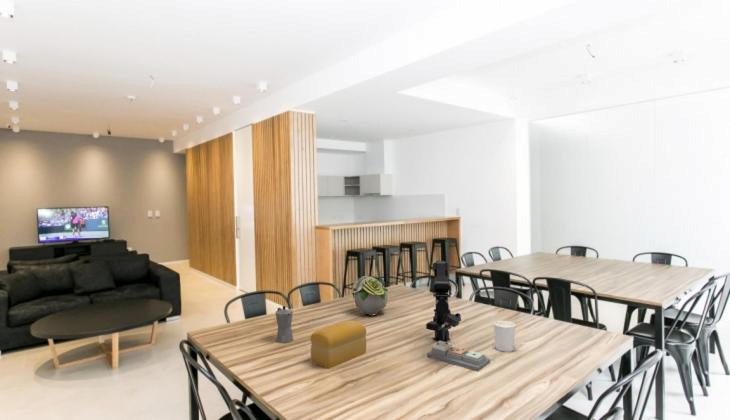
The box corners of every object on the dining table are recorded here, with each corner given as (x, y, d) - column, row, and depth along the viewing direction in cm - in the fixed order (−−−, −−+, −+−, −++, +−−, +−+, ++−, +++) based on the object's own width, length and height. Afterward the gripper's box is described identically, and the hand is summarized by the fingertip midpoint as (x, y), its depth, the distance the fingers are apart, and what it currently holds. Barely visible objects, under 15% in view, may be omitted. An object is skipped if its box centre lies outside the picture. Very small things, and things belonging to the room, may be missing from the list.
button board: (427, 356, 182) (427, 349, 182) (440, 349, 191) (440, 341, 191) (477, 371, 166) (477, 363, 166) (490, 362, 175) (489, 354, 175)
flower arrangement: (345, 311, 259) (345, 274, 259) (379, 306, 270) (379, 271, 269) (361, 321, 237) (360, 281, 236) (397, 316, 247) (397, 277, 247)
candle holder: (501, 353, 185) (501, 328, 185) (489, 346, 194) (489, 321, 194) (519, 351, 187) (519, 325, 187) (507, 343, 197) (506, 320, 197)
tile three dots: (448, 356, 178) (448, 350, 178) (455, 352, 183) (455, 346, 183) (460, 359, 174) (460, 353, 174) (467, 355, 179) (467, 349, 179)
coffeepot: (298, 341, 204) (297, 307, 204) (280, 345, 199) (280, 310, 199) (286, 333, 217) (286, 301, 217) (270, 337, 212) (269, 304, 211)
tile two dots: (433, 349, 184) (433, 343, 184) (440, 345, 188) (439, 340, 188) (444, 352, 180) (444, 346, 180) (451, 348, 184) (451, 343, 184)
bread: (348, 346, 197) (347, 316, 197) (367, 353, 188) (366, 321, 188) (310, 361, 179) (309, 328, 179) (329, 369, 170) (328, 335, 170)
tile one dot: (464, 360, 173) (464, 354, 173) (471, 356, 178) (471, 350, 178) (477, 364, 169) (477, 357, 169) (483, 359, 174) (483, 353, 174)
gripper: (447, 314, 171) (447, 350, 172) (467, 305, 185) (467, 338, 186) (425, 310, 179) (425, 344, 179) (446, 302, 193) (446, 333, 193)
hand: (442, 340), depth 184 cm, fingers closed
